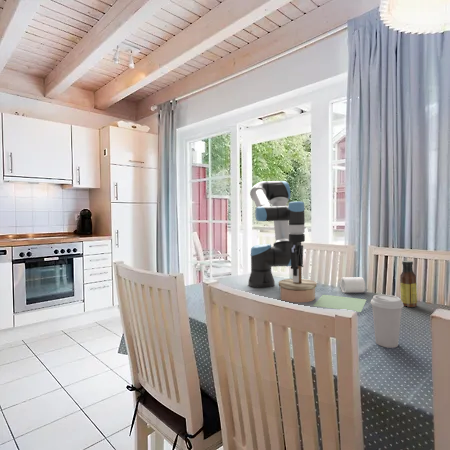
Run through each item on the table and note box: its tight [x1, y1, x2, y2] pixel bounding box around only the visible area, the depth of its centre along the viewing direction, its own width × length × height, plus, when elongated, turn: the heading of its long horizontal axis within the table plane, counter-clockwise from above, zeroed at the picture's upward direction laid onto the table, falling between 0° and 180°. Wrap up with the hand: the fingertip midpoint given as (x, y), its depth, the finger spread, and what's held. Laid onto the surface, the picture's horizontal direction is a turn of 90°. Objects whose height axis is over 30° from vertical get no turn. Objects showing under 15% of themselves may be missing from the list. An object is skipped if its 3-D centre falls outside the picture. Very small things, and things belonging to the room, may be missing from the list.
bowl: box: [279, 286, 316, 303], centre depth 155 cm, size 16×16×6 cm
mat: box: [312, 294, 367, 313], centre depth 145 cm, size 20×20×1 cm
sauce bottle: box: [399, 260, 418, 308], centre depth 140 cm, size 6×6×20 cm
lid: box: [278, 266, 318, 290], centre depth 155 cm, size 18×18×9 cm
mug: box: [339, 276, 366, 294], centre depth 165 cm, size 12×10×8 cm
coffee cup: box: [370, 294, 405, 349], centre depth 102 cm, size 10×10×15 cm
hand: (297, 281), depth 155 cm, fingers closed on lid, 4 cm apart
